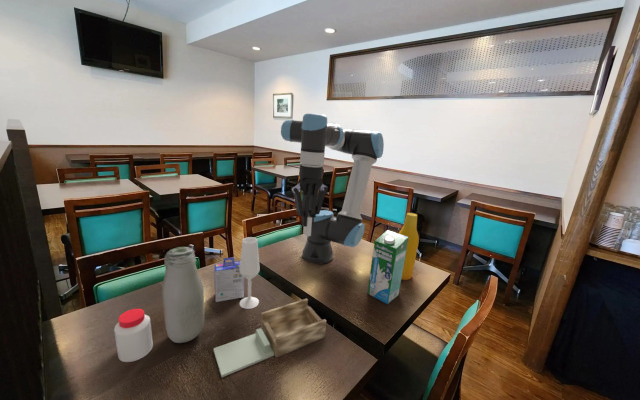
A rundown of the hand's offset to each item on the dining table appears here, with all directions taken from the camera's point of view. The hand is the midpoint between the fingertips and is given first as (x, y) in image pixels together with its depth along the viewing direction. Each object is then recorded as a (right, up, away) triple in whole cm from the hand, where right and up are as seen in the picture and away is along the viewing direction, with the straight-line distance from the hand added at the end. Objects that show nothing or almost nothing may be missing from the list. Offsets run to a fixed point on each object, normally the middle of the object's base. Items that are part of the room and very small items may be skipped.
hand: (306, 234), depth 90 cm
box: (-4, -29, -8) cm, 31 cm away
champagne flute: (-21, -25, +4) cm, 33 cm away
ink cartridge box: (-29, -24, +7) cm, 38 cm away
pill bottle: (-45, -29, -18) cm, 57 cm away
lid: (-17, -31, -16) cm, 39 cm away
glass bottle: (-35, -28, -13) cm, 46 cm away
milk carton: (+29, -26, +15) cm, 42 cm away
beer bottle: (+42, -23, +31) cm, 57 cm away
